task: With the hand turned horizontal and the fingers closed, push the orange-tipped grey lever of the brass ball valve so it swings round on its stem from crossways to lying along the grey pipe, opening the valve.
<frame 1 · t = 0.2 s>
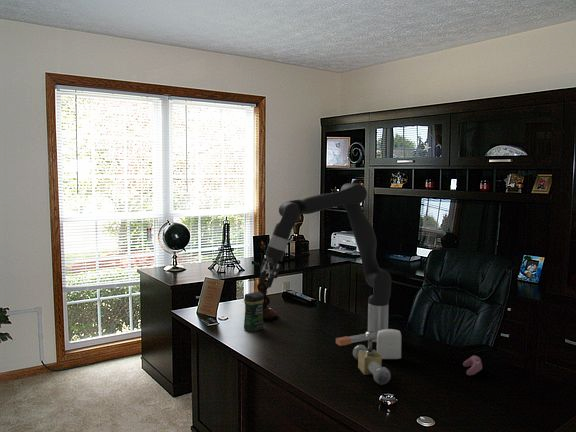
hand: (264, 284, 200), 31 cm above the table, tool tilted 20°, fingers open, 8 cm apart
coffee jar: (254, 329, 238), on the table
pink curved piece: (472, 371, 190), on the table
valve: (369, 370, 191), on the table
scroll: (263, 317, 258), on the table
photo printer: (388, 358, 203), on the table
lever: (356, 338, 186), point 14 cm above the table, hinge at 15.0°
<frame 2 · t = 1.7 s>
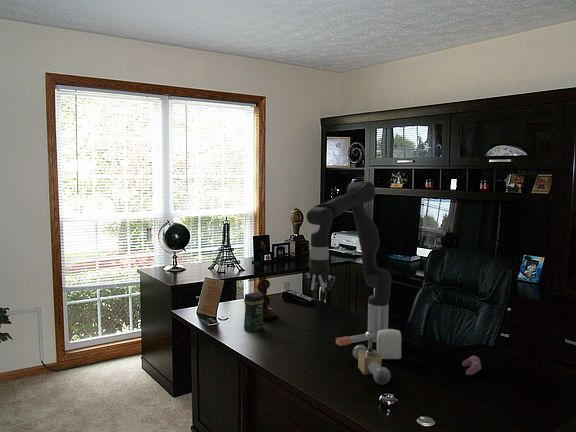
hand: (318, 299, 193), 27 cm above the table, tool pointing down, fingers open, 3 cm apart
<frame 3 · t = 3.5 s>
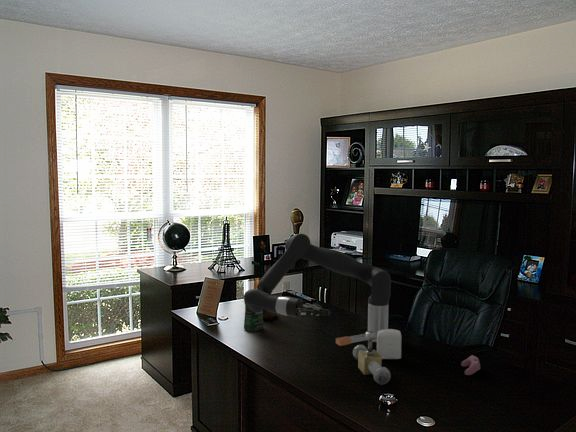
hand: (329, 313, 185), 24 cm above the table, tool horizontal, fingers closed
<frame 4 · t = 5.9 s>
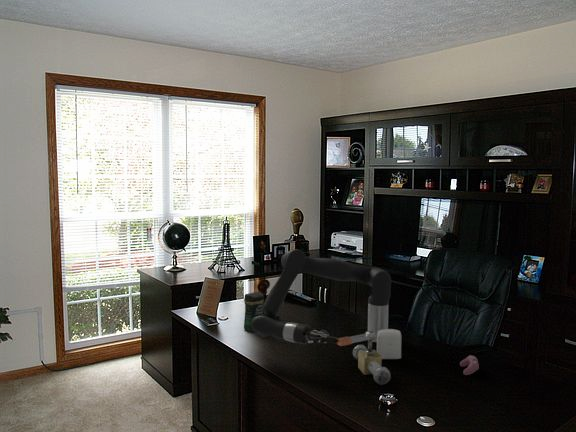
hand: (336, 340, 184), 14 cm above the table, tool horizontal, fingers closed
lever: (356, 338, 186), point 14 cm above the table, hinge at 16.6°, touching gripper
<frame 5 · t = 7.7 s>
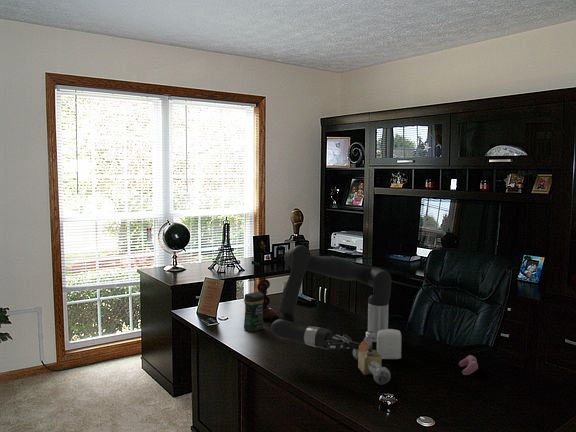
hand: (359, 346, 178), 14 cm above the table, tool horizontal, fingers closed
lever: (367, 341, 183), point 14 cm above the table, hinge at 58.5°, touching gripper
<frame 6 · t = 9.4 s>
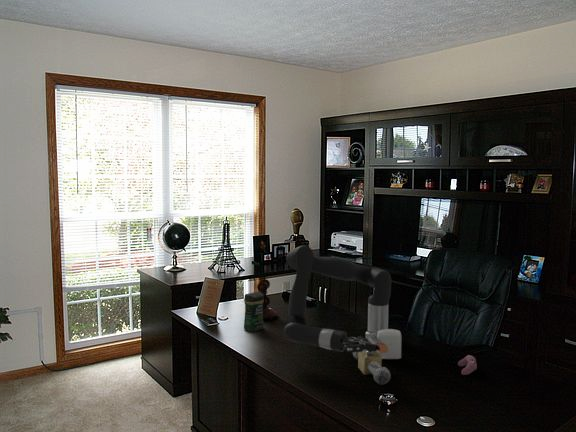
hand: (376, 348, 177), 14 cm above the table, tool horizontal, fingers closed
lever: (376, 341, 183), point 14 cm above the table, hinge at 87.7°, touching gripper
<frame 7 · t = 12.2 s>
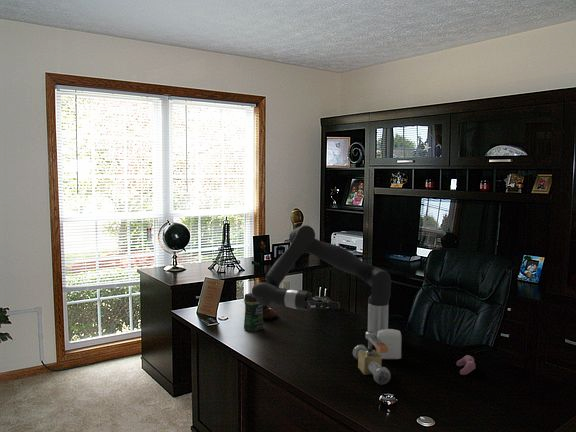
hand: (339, 305, 182), 28 cm above the table, tool horizontal, fingers closed
lever: (376, 341, 183), point 14 cm above the table, hinge at 87.9°
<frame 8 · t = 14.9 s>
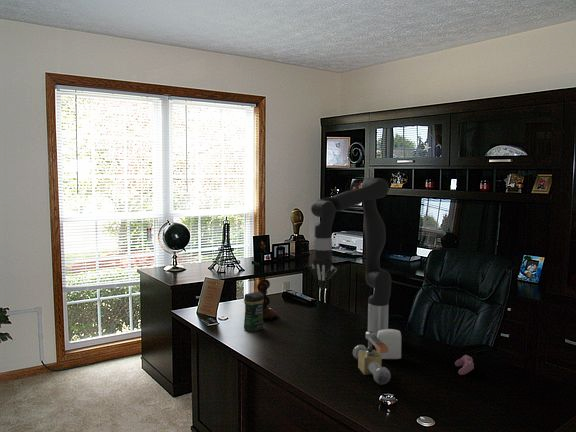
hand: (322, 288, 203), 29 cm above the table, tool pointing down, fingers closed
at the end: lever at +88° (first picture: +15°); the gripper is holding nothing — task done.
